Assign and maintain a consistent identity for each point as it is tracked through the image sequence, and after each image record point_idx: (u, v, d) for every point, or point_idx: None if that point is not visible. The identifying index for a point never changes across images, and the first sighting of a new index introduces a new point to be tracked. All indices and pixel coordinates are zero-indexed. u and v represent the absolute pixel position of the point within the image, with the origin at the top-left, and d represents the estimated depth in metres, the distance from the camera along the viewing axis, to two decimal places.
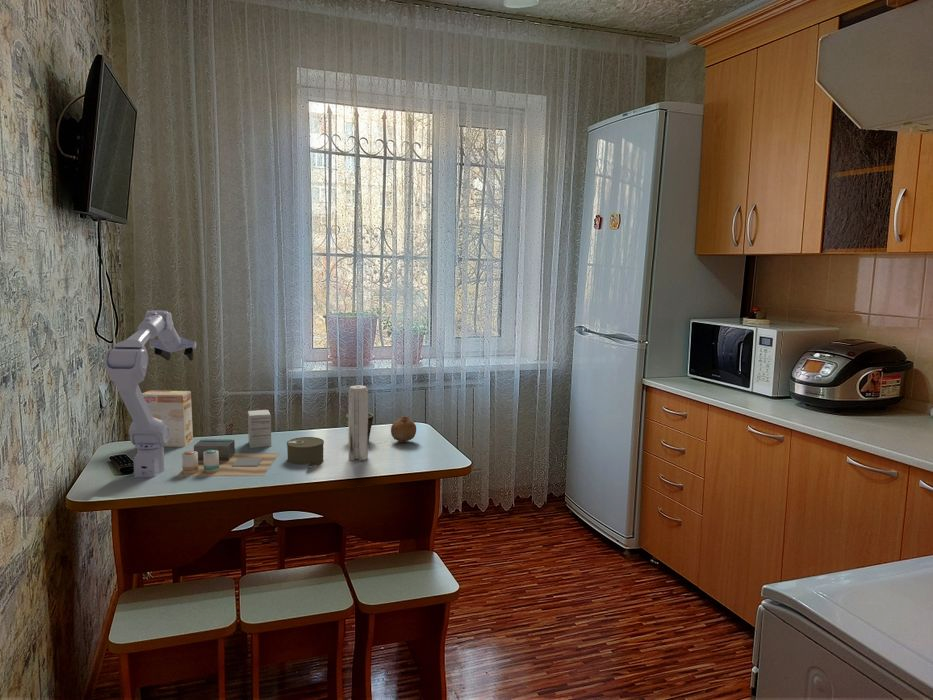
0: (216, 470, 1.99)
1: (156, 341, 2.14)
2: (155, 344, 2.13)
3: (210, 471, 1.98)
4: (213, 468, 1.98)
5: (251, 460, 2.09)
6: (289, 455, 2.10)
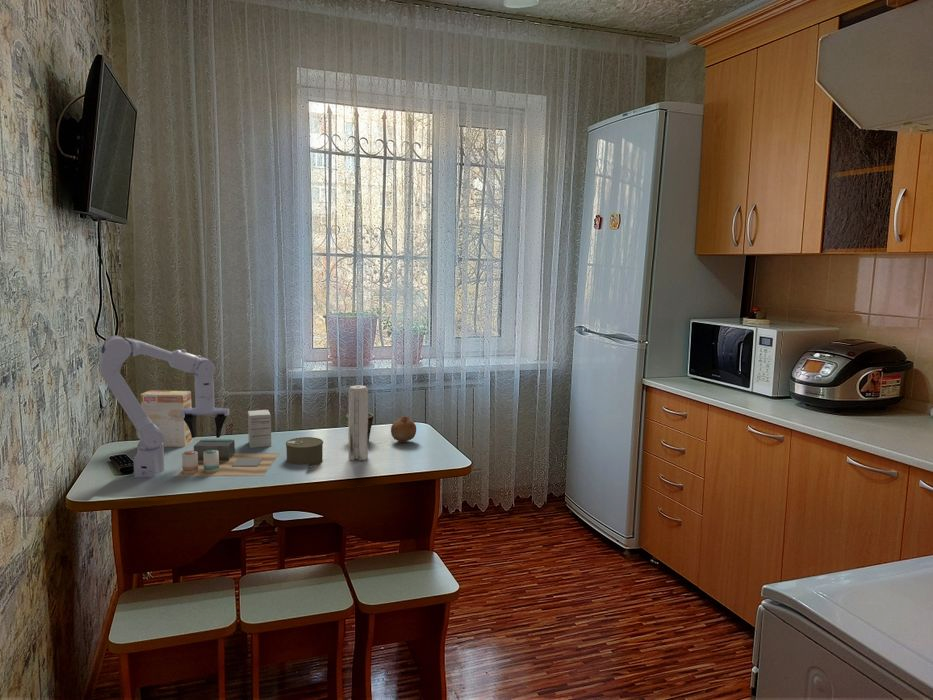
0: (216, 470, 1.99)
1: None
2: None
3: (210, 471, 1.98)
4: (213, 468, 1.98)
5: (251, 460, 2.09)
6: (288, 455, 2.10)
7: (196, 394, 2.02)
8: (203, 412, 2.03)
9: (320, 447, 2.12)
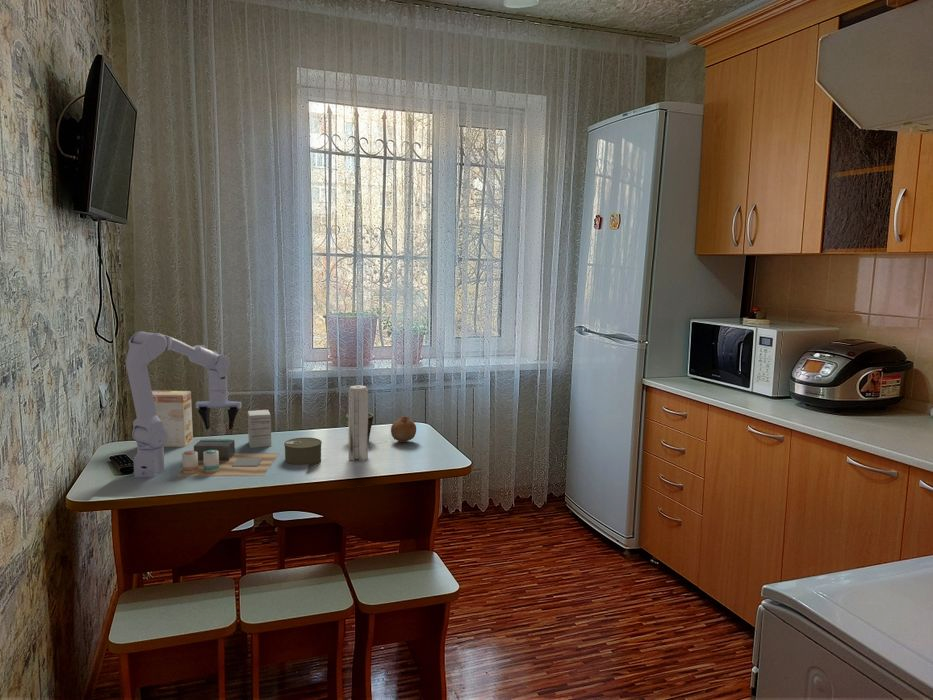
0: (216, 470, 1.99)
1: None
2: None
3: (210, 471, 1.98)
4: (213, 468, 1.98)
5: (251, 460, 2.09)
6: (286, 456, 2.09)
7: (212, 388, 2.13)
8: (217, 405, 2.14)
9: (319, 447, 2.11)
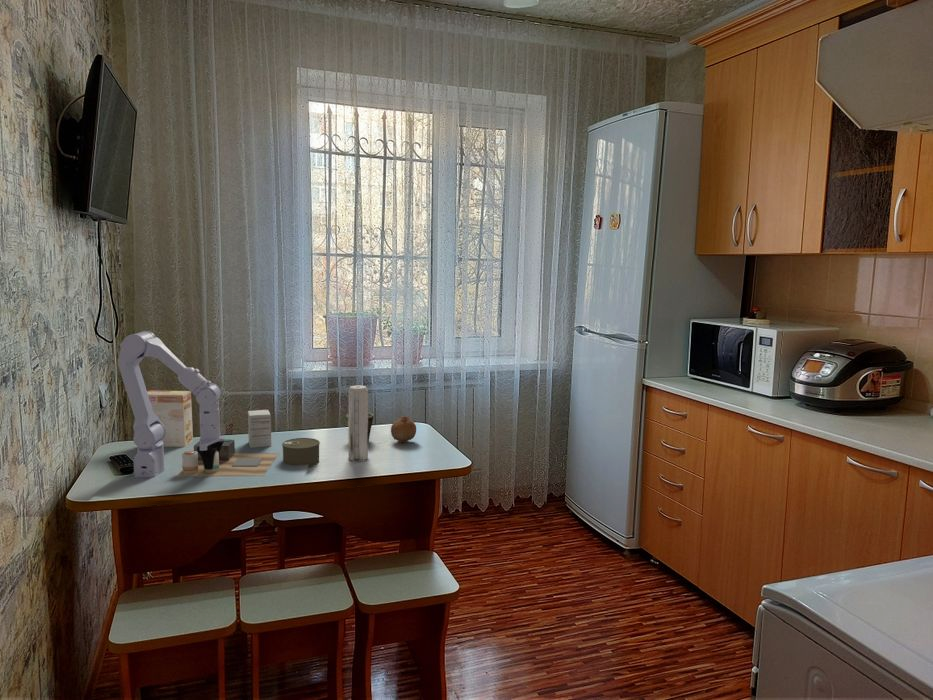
0: (216, 470, 1.99)
1: None
2: None
3: (210, 471, 1.98)
4: (213, 468, 1.98)
5: (251, 460, 2.09)
6: (284, 456, 2.09)
7: (200, 421, 1.97)
8: (200, 439, 1.98)
9: (317, 448, 2.11)
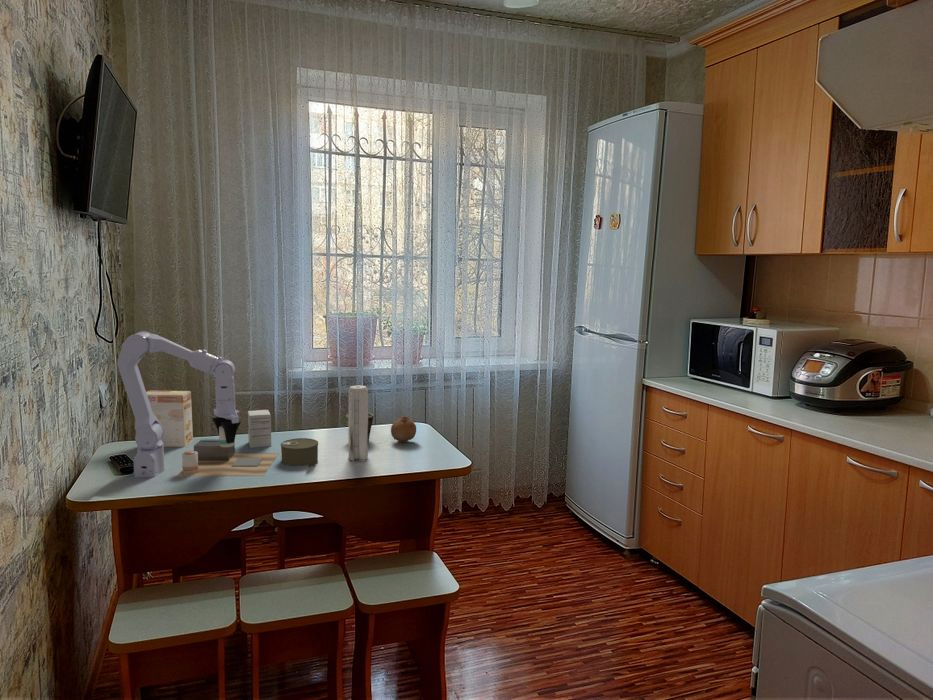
0: (234, 443, 2.03)
1: None
2: None
3: (231, 445, 2.01)
4: None
5: (251, 460, 2.09)
6: (283, 456, 2.08)
7: None
8: (217, 415, 1.99)
9: (315, 448, 2.10)
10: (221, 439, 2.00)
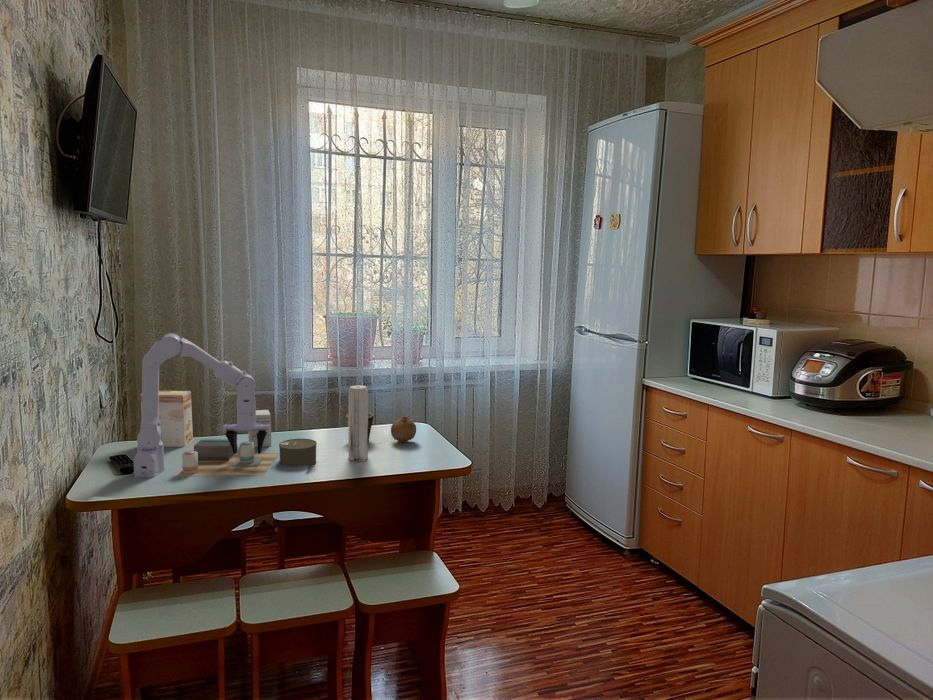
0: None
1: None
2: None
3: None
4: None
5: None
6: (281, 457, 2.08)
7: (237, 410, 2.04)
8: (245, 428, 2.04)
9: (313, 449, 2.10)
10: (247, 456, 2.06)
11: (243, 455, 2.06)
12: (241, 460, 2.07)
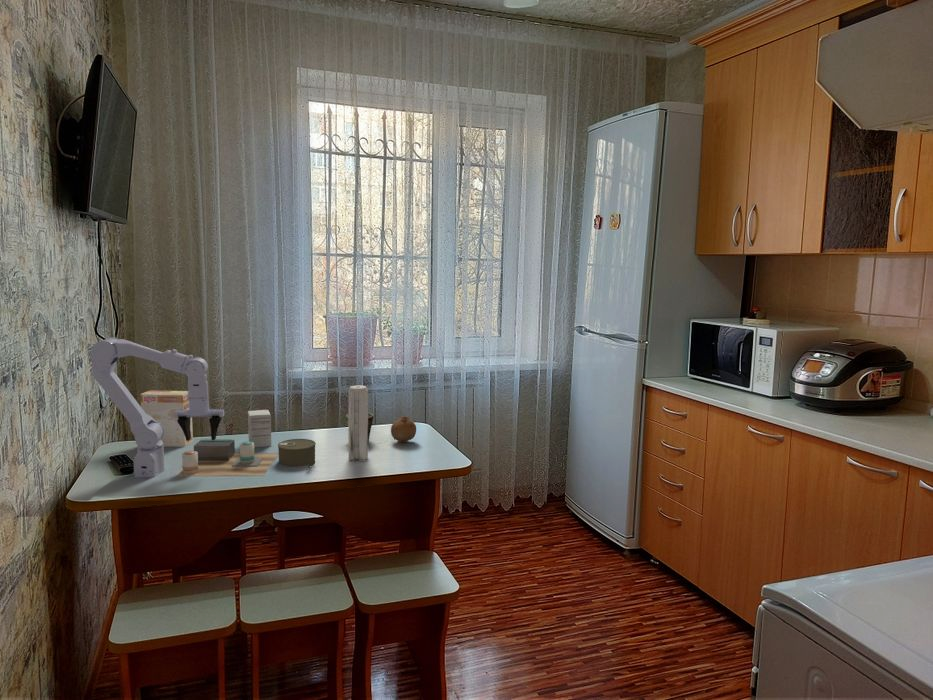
0: None
1: None
2: None
3: None
4: None
5: None
6: (280, 457, 2.08)
7: (188, 395, 1.97)
8: (197, 414, 1.96)
9: (312, 449, 2.09)
10: (247, 456, 2.06)
11: (243, 455, 2.06)
12: (241, 460, 2.07)
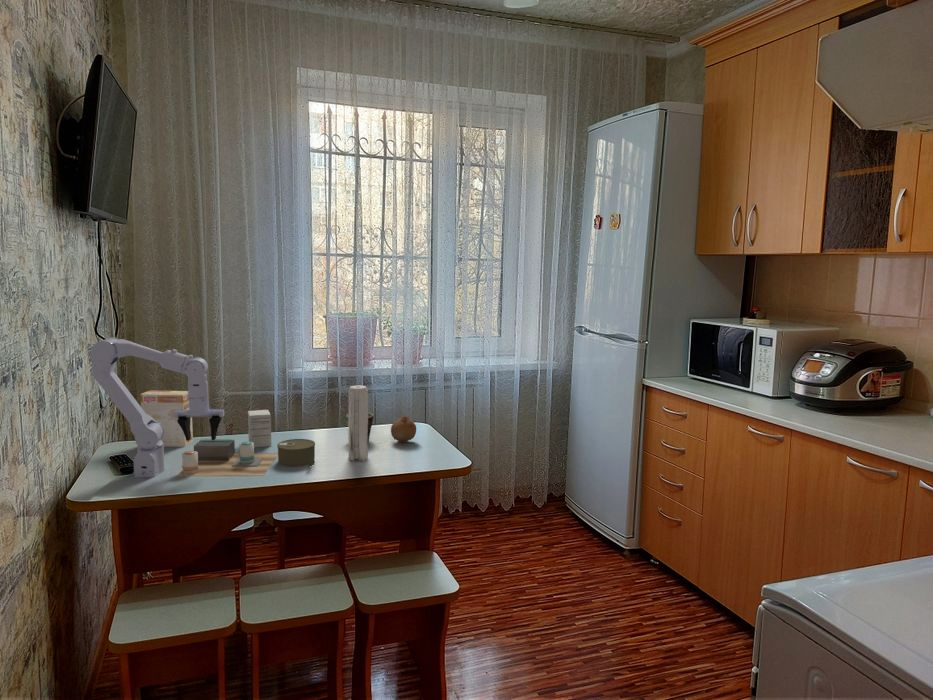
0: None
1: None
2: None
3: None
4: None
5: None
6: (279, 457, 2.07)
7: (188, 395, 1.97)
8: (197, 414, 1.96)
9: (312, 449, 2.09)
10: (247, 456, 2.06)
11: (243, 455, 2.06)
12: (241, 460, 2.07)
